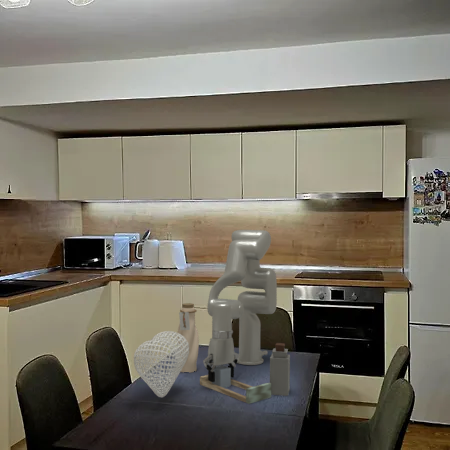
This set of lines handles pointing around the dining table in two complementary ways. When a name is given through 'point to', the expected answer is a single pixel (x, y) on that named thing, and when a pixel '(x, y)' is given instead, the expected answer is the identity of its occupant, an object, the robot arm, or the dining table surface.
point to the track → (251, 392)
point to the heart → (147, 353)
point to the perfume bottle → (280, 370)
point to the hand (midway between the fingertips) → (221, 378)
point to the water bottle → (189, 336)
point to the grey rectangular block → (222, 376)
